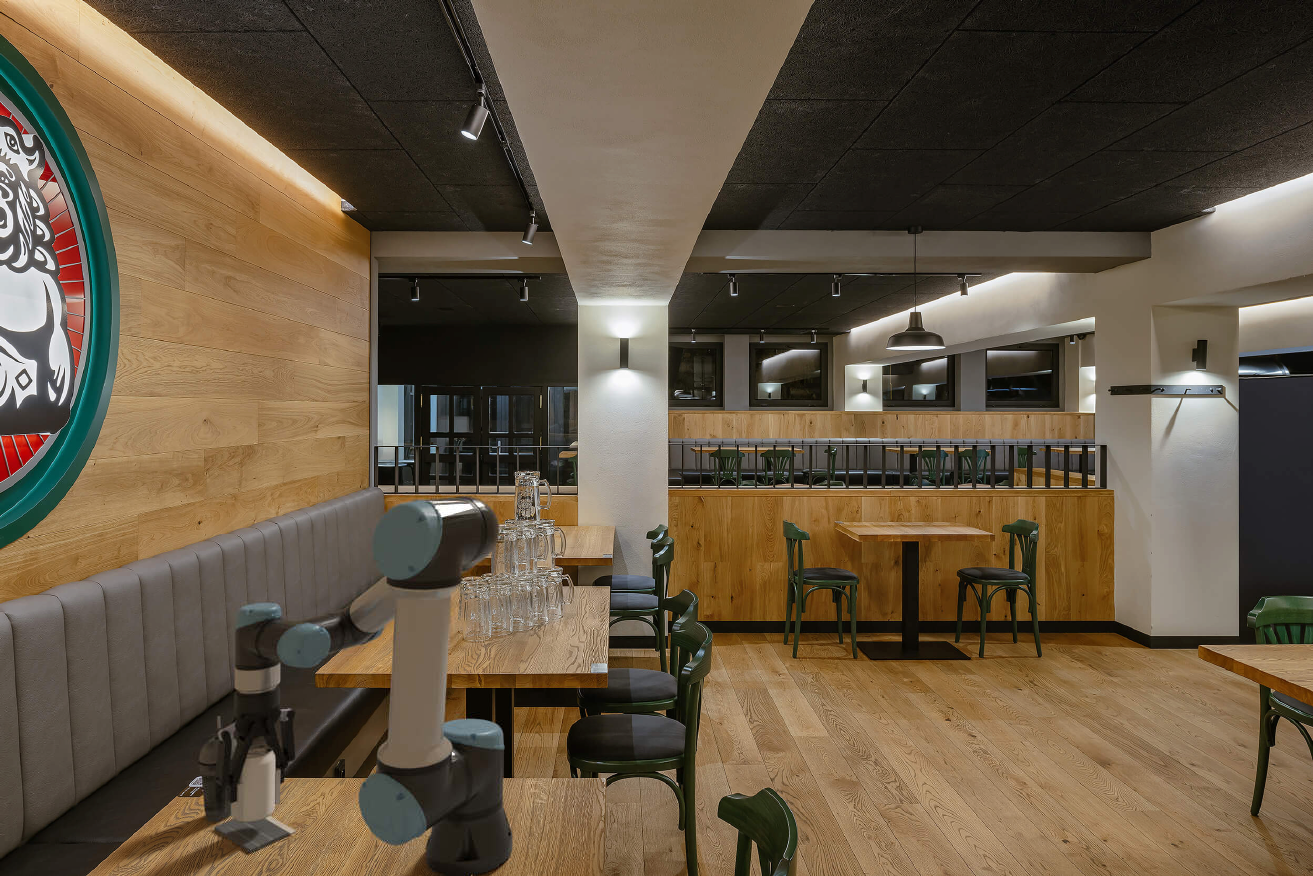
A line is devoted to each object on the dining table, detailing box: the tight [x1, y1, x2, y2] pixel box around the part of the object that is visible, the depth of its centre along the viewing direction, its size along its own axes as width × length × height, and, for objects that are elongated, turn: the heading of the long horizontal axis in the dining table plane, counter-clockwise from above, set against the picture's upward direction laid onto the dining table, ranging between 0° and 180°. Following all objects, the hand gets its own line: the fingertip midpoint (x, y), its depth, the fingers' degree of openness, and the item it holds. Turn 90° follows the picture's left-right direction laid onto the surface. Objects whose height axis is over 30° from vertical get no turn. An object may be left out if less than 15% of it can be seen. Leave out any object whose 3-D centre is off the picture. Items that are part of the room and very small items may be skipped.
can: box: [239, 744, 276, 823], centre depth 135 cm, size 6×6×12 cm
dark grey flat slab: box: [214, 815, 297, 854], centre depth 136 cm, size 14×8×1 cm, turn 56°
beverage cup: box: [197, 715, 237, 823], centre depth 141 cm, size 7×7×20 cm
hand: (256, 809), depth 135 cm, fingers closed on can, 6 cm apart
